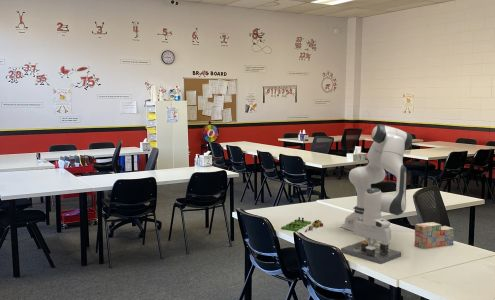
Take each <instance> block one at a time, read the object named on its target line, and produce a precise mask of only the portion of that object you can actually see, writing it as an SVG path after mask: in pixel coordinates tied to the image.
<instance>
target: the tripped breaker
mask: <svg viewBox="0 0 495 300" xmlns="http://www.w3.org/2000/svg"><path fill="white" fill-rule="evenodd" d="M360 242H361V248H363V249H366V247H368V243H367V240H366V239H365V240H361V241H360Z"/></svg>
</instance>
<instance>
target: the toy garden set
mask: <svg viewBox="0 0 495 300" xmlns="http://www.w3.org/2000/svg"><path fill="white" fill-rule="evenodd" d="M304 218H305V217H300V216H299V217H298V218H297V219H294V220H293V221H290V222H289V223H286V224H285V225H283V226H281V227H280V229H281V230H285V231H291V232H298V231H300V230H302V229H304V228H306V227H307V226H308V227H307V228H306V229H305V231H304V233H305V232H308V231H312V232H313V230H314V227H315V228H321V227H324V223H323V222H322V220H320V219H315V220H314V221H313V222H312V221H310V220H304ZM311 224H312V225H311Z"/></svg>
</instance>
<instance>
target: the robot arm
mask: <svg viewBox="0 0 495 300" xmlns="http://www.w3.org/2000/svg"><path fill="white" fill-rule="evenodd" d="M371 139H372V141H373V142H372V144H371V146H370V147H369V150H368V152H367V154H366V158H367V161H368V163H367V165H363V166H356V167H355V168H352V169H351V170H350V171H349V174H348V179H349V183H351V185H353V186H354V188H355V190H356V205H355V206H353V207H352V208H353V210H354V211H352V212H351V213H350V214H349V215H347V216H346V217H345V218H344V219H345V220H344V223H342V224H341V225H340V228H342V229H345V230H348V231H351V232H352V233H353V235H354V236H357V237H358V236H359V237H362V238H365V241H367V243H368V246H373V247H375V245H376V243H377V241H378V242H385V243H387V242H388V243H390V242H391V240H392V230H391V227H390V226H391V222H390V221H389V220H387V219H385V218H384V217H382V213H385V214H386V213H387V214H391V215H395V216H400V215H401V214H404V213H405V211H406V209H407V198H406V196H407V195H406V194H407V181H408V180H407V178H408V177H407V176H408V173H407V171H408V170H407V167H406V166H405V165H404V163H403V161H404V160H403V158H404V154H405V151H406V150H409V149H410V148H411V145H412V143H413V136H412V134H410V133H409V132H408V131H404V130H401V129H399V128H396V127H393V126H388V125H385V124H380V123H379V124H377V125H375V126H374V128H373V129H372V131H371ZM386 172H388V173H390V174H392V175H393V176H394V177H396V187H395V189H396V190H395V193H394V194H390V193H385V192H382V191H381V189H380V188H377V187H372V184H378V183H381V182H382V181H384V180H385V178H386ZM371 241H372V242H371Z"/></svg>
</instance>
